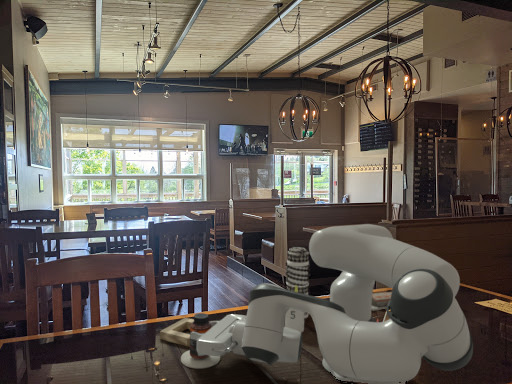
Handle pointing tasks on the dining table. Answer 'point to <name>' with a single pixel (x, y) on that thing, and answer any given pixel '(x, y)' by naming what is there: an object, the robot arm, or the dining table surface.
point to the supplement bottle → (201, 326)
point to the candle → (295, 318)
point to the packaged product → (380, 300)
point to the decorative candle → (298, 271)
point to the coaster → (198, 361)
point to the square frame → (177, 332)
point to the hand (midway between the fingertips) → (198, 329)
